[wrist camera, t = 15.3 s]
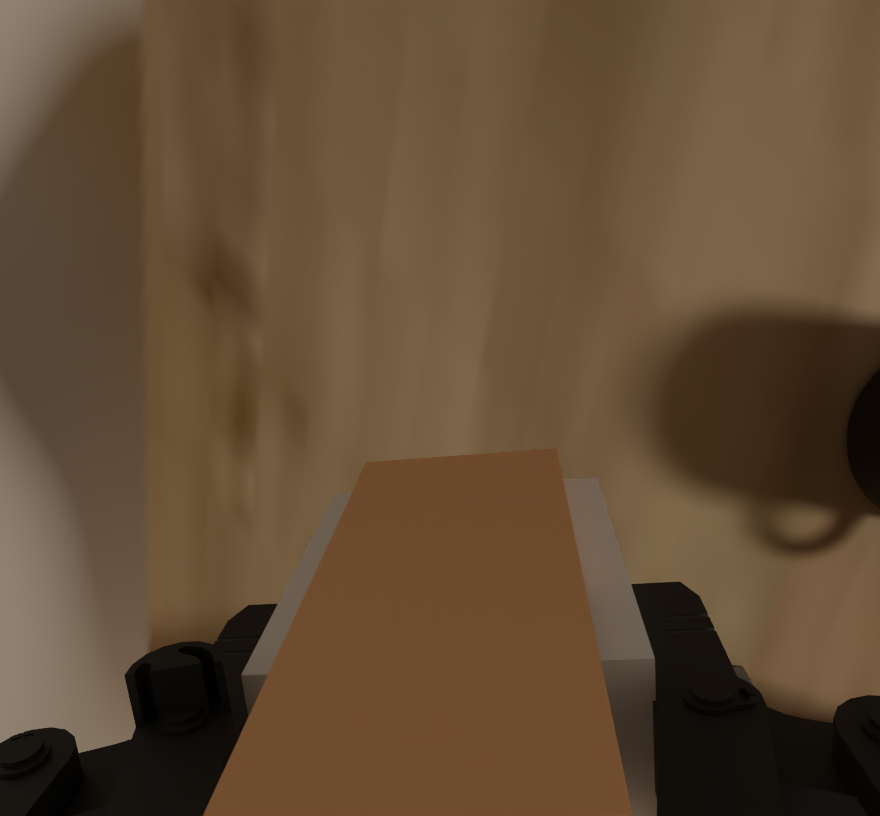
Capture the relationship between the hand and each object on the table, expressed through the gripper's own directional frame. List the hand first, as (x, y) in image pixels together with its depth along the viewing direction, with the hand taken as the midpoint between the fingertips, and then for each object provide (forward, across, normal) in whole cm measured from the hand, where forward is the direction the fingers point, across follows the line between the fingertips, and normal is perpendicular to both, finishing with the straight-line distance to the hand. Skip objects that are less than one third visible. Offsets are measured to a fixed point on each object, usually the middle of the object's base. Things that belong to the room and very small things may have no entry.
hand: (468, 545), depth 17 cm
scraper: (0, 0, -6) cm, 6 cm away
